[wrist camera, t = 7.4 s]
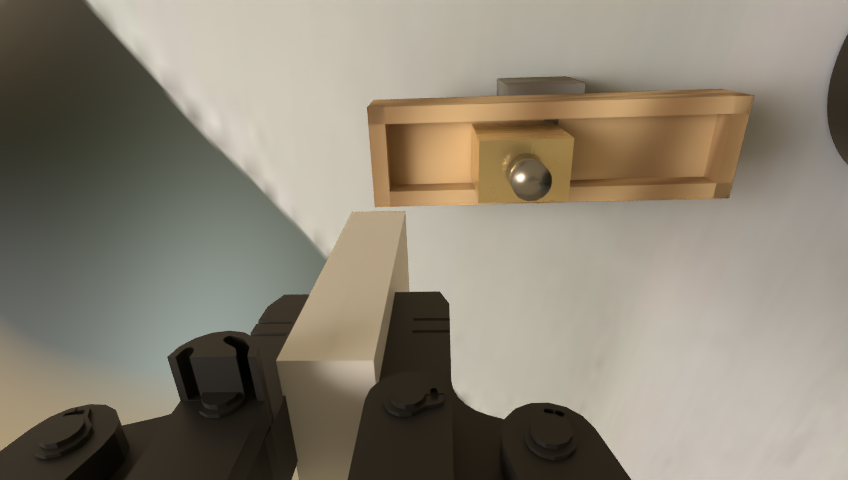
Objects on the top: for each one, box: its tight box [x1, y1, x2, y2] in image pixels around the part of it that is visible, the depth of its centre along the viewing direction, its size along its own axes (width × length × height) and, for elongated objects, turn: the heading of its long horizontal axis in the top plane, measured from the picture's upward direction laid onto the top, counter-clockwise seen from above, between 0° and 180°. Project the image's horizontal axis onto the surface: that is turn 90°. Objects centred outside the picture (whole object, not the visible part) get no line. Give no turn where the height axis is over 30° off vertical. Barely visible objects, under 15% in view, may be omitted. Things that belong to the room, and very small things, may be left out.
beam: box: [367, 76, 754, 207], centre depth 26 cm, size 18×6×7 cm, turn 92°
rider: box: [471, 121, 574, 203], centre depth 21 cm, size 4×3×6 cm
